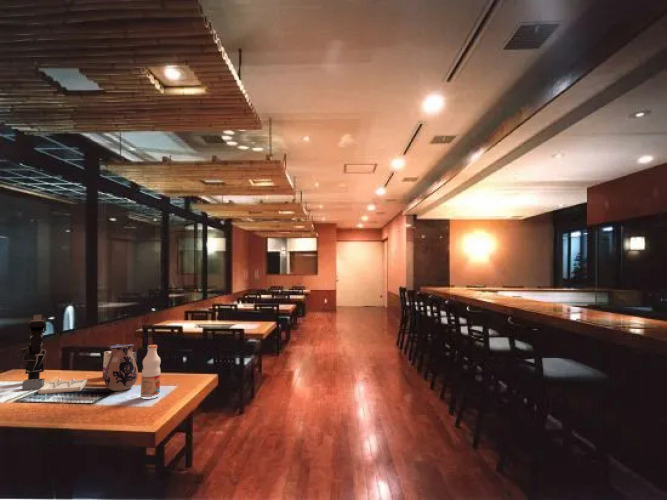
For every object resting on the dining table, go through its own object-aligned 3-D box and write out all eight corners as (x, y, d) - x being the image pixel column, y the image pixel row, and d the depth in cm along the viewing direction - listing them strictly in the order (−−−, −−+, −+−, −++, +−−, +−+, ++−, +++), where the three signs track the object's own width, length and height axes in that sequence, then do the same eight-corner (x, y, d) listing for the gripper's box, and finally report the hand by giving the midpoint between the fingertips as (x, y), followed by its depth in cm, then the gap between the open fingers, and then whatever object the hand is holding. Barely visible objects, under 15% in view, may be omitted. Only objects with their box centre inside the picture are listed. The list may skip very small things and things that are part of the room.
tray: (47, 385, 236) (48, 378, 236) (86, 383, 243) (87, 375, 243) (38, 394, 220) (38, 385, 220) (80, 390, 227) (80, 382, 227)
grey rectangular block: (25, 388, 231) (26, 379, 231) (44, 387, 234) (44, 378, 234) (22, 390, 226) (22, 381, 226) (41, 389, 229) (41, 380, 229)
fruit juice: (139, 396, 219) (141, 344, 221) (157, 393, 224) (159, 343, 226) (141, 400, 211) (144, 347, 213) (160, 398, 217) (163, 346, 218)
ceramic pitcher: (111, 395, 220) (114, 349, 221) (95, 388, 232) (97, 345, 234) (143, 388, 234) (145, 345, 235) (125, 382, 246) (127, 341, 248)
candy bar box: (121, 377, 256) (122, 351, 257) (114, 379, 252) (115, 353, 253) (109, 375, 261) (110, 350, 262) (102, 377, 256) (103, 351, 257)
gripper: (25, 340, 237) (23, 366, 236) (12, 346, 220) (10, 374, 219) (47, 339, 241) (45, 365, 240) (36, 345, 224) (35, 373, 223)
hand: (34, 369), depth 230 cm, fingers open, 9 cm apart
